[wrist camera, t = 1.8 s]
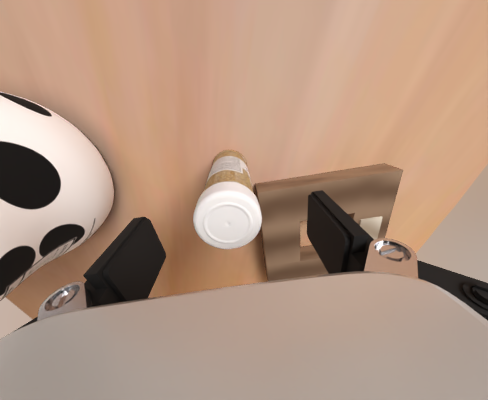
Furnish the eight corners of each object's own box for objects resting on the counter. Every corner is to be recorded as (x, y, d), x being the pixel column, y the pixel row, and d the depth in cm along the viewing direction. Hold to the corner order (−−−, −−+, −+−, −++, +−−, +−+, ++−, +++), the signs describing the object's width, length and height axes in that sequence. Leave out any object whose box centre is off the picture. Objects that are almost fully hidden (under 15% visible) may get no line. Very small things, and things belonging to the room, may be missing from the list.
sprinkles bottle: (245, 183, 25) (259, 252, 13) (212, 181, 24) (193, 251, 12) (248, 149, 23) (267, 193, 11) (212, 147, 22) (189, 190, 10)
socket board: (363, 259, 33) (376, 273, 30) (266, 274, 33) (269, 289, 30) (384, 163, 25) (404, 170, 22) (255, 183, 25) (258, 193, 22)
